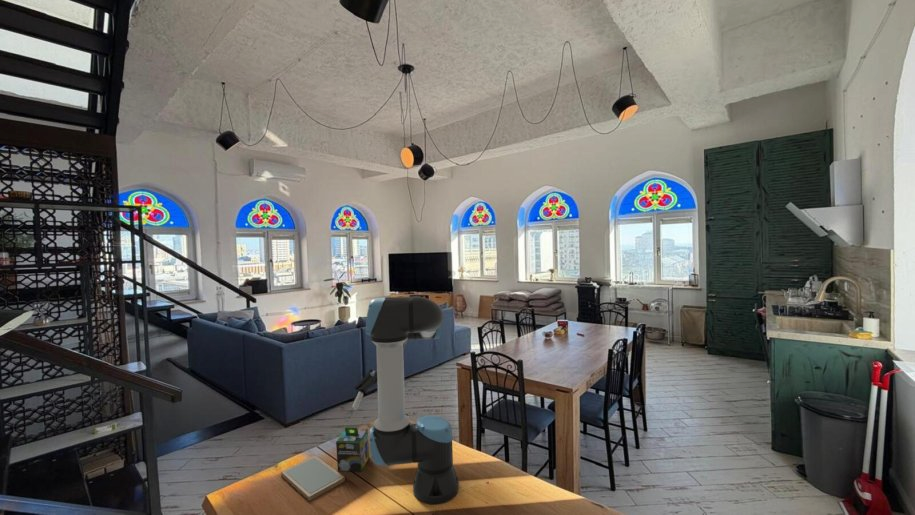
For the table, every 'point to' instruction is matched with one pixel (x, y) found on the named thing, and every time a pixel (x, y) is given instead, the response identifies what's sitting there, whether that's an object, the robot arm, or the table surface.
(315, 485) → the slate board
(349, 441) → the chalk box
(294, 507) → the table surface
